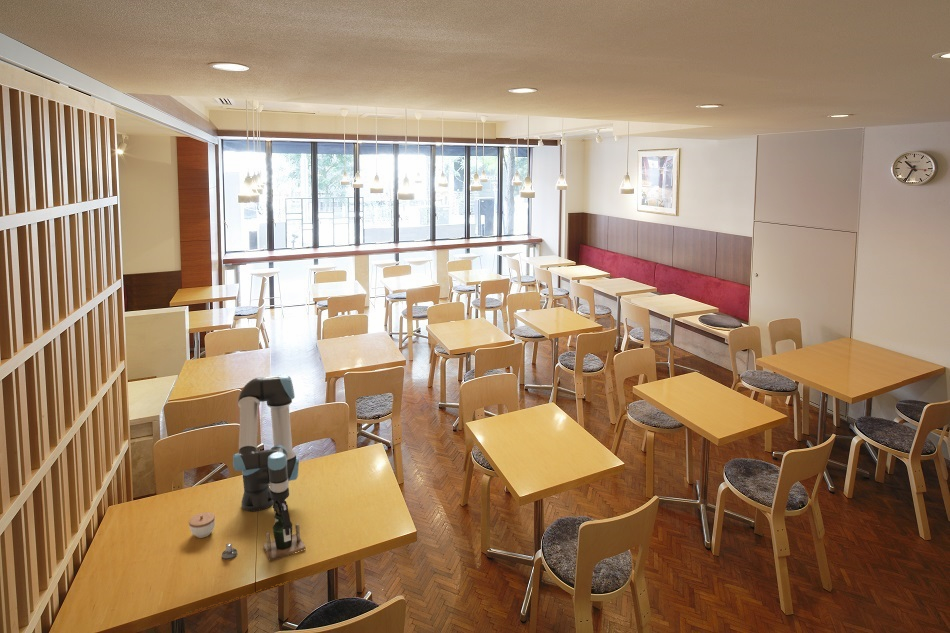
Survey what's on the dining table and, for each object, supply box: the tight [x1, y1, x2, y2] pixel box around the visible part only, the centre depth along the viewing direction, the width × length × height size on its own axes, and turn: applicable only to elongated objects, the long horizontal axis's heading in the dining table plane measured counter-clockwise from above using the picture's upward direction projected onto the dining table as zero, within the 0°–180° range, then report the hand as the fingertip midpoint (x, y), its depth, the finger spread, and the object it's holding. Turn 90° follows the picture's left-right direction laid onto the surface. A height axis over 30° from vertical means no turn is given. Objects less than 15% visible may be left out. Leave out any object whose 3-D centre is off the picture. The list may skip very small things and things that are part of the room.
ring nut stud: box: [221, 542, 238, 561], centre depth 249 cm, size 6×6×5 cm
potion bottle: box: [272, 508, 293, 550], centre depth 252 cm, size 8×8×18 cm
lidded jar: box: [188, 511, 216, 539], centre depth 264 cm, size 11×11×9 cm
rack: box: [262, 523, 307, 563], centre depth 253 cm, size 12×15×10 cm
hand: (283, 532), depth 253 cm, fingers open, 13 cm apart
